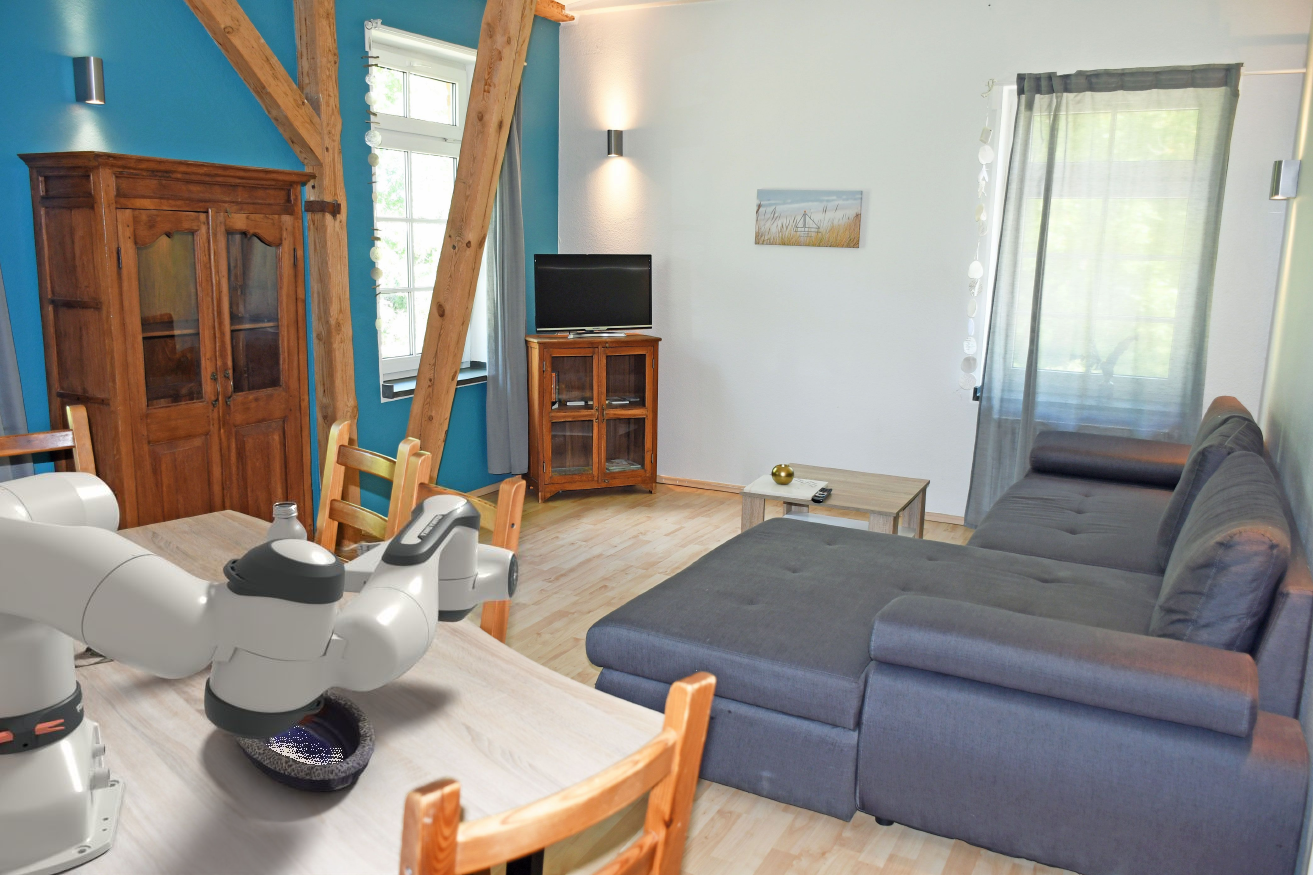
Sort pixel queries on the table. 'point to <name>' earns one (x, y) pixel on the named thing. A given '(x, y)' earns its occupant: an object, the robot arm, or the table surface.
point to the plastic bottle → (285, 523)
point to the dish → (330, 729)
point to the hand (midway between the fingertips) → (343, 557)
